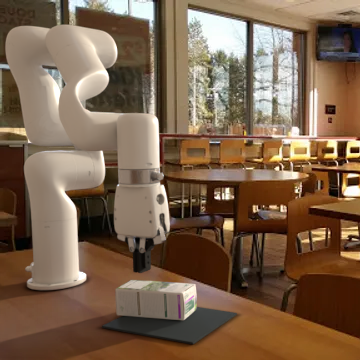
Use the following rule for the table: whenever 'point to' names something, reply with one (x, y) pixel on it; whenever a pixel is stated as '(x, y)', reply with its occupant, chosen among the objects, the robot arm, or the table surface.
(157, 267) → the table surface
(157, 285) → the syrup box
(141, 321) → the mat
